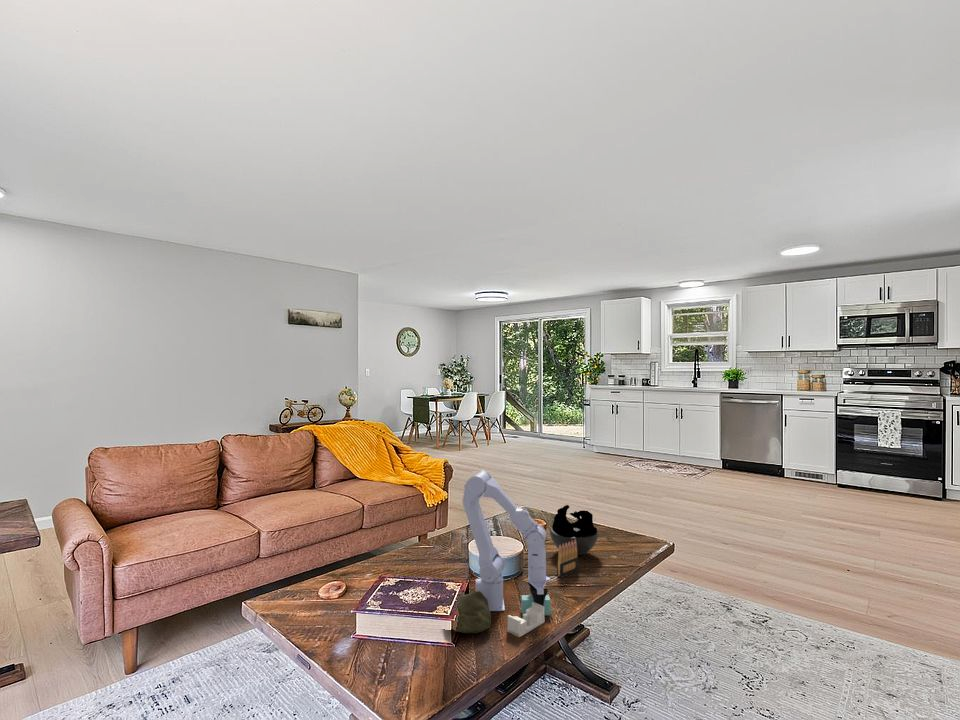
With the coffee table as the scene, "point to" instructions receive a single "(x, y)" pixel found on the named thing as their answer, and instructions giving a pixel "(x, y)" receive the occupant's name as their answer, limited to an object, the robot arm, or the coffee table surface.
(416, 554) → the coffee table surface
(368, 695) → the coffee table surface
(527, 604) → the teal block
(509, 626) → the stand
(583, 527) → the coal bowl
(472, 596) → the decorative rock
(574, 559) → the ammunition clip
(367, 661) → the coffee table surface
